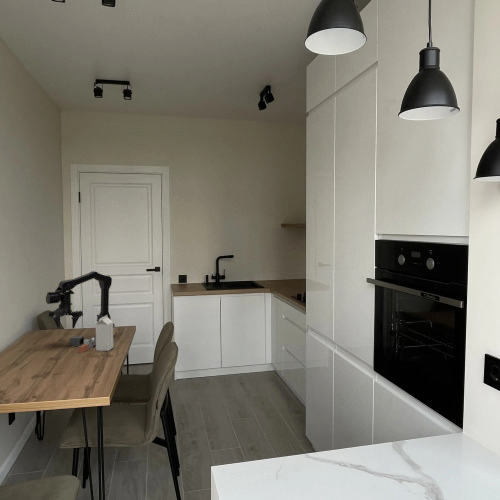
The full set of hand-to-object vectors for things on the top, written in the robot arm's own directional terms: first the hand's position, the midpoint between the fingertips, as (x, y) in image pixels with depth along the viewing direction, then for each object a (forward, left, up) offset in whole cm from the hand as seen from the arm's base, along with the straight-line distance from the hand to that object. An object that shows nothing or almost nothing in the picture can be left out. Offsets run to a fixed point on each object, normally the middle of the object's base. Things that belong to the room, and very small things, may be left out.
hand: (65, 328), depth 239 cm
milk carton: (+5, +27, -10) cm, 30 cm away
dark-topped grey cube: (-1, +7, -10) cm, 12 cm away
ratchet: (+5, +15, -10) cm, 19 cm away
